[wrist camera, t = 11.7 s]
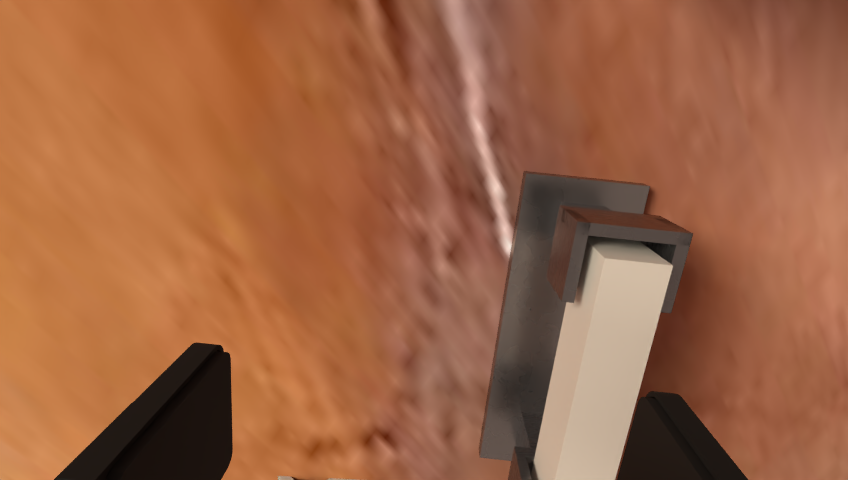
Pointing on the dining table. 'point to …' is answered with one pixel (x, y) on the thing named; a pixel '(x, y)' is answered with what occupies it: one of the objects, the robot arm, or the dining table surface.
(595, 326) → the rail
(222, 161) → the dining table surface
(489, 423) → the bracket stand
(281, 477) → the crown molding
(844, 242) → the dining table surface
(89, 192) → the dining table surface
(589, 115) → the dining table surface
